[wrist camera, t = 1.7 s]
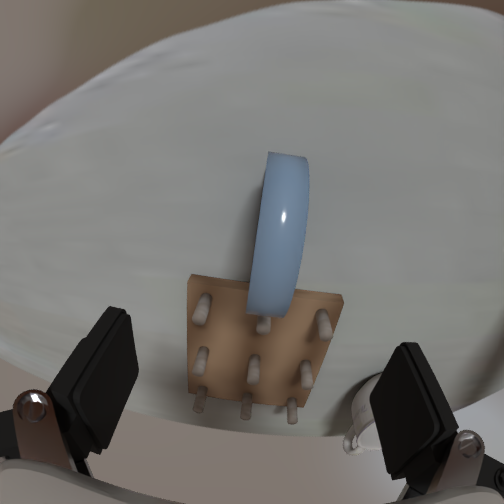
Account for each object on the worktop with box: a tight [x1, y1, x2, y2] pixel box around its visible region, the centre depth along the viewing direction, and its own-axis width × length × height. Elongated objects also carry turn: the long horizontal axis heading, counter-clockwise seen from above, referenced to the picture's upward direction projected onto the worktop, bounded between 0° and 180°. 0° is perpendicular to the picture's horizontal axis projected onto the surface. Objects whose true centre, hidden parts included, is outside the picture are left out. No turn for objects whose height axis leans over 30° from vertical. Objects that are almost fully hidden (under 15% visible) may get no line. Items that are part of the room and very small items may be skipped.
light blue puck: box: [246, 152, 309, 319], centre depth 20 cm, size 2×11×12 cm, turn 173°
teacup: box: [343, 373, 382, 455], centre depth 31 cm, size 14×11×8 cm
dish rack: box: [187, 274, 344, 424], centre depth 30 cm, size 15×17×5 cm
